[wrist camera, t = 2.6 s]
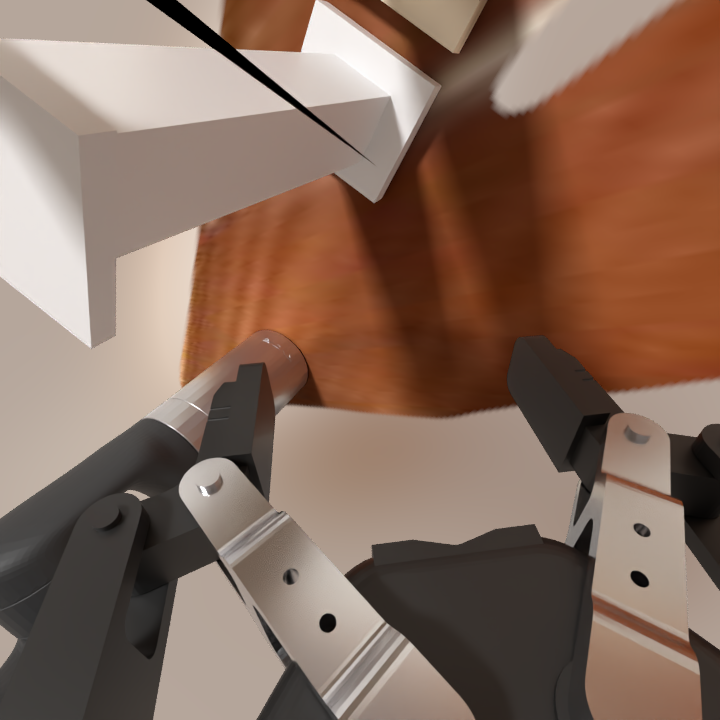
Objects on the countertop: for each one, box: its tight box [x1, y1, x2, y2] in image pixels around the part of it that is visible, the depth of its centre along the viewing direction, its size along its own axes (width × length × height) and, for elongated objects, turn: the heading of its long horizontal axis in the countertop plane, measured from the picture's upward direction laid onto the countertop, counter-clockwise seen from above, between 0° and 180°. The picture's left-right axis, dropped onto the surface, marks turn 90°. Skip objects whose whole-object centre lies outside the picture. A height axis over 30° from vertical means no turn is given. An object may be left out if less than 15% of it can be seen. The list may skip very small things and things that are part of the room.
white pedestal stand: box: [0, 0, 441, 349], centre depth 21 cm, size 9×10×26 cm
